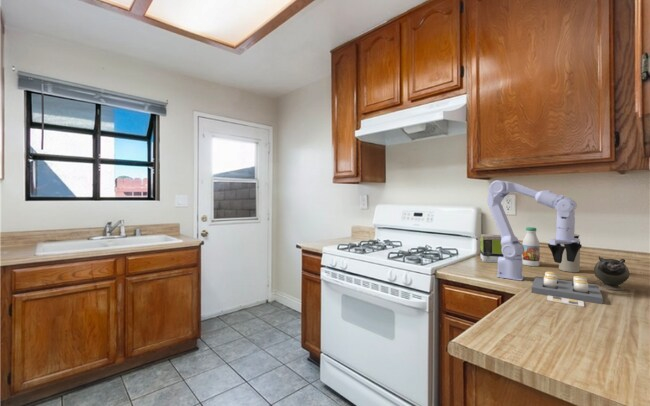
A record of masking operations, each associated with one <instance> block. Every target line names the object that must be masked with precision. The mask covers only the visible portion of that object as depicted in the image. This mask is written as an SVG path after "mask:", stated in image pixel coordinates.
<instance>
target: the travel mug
mask: <svg viewBox="0 0 650 406" xmlns="http://www.w3.org/2000/svg"><path fill="white" fill-rule="evenodd" d="M574 238H577V239H580V234H577V233H574ZM564 243H565V242H564ZM579 244H581V241H580V242H579ZM560 245H561V246H564V244H560ZM580 263H581V248H580V249H579V251H578V252H577V255H576V257H575V260H574V262H570V261H567V255H566V249H565V250H564V252H563V255H562V262H561V263H558V270H560V271H562V272H567V273H578V272H580V269H581V268H580V266H581V265H580Z"/></svg>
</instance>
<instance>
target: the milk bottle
mask: <svg viewBox="0 0 650 406" xmlns="http://www.w3.org/2000/svg"><path fill="white" fill-rule="evenodd" d="M525 232H526V234H525V236H524V238H523V239H522V243H521V244H522V245H523V247H524V253H523V254H522V255H521V256H522V266H523V265H524V266H528V267H540V253H541V252H540V250H541V249H540V241H539V239H538V236H537V228H536V227H529V226H528V227H525Z"/></svg>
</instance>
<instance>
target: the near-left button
mask: <svg viewBox="0 0 650 406" xmlns="http://www.w3.org/2000/svg"><path fill="white" fill-rule="evenodd" d="M543 277H544V286H546V287H552V288H555V287H557V279H558V278H557V279H556V277H552V276H545V275H544V276H543Z"/></svg>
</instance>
